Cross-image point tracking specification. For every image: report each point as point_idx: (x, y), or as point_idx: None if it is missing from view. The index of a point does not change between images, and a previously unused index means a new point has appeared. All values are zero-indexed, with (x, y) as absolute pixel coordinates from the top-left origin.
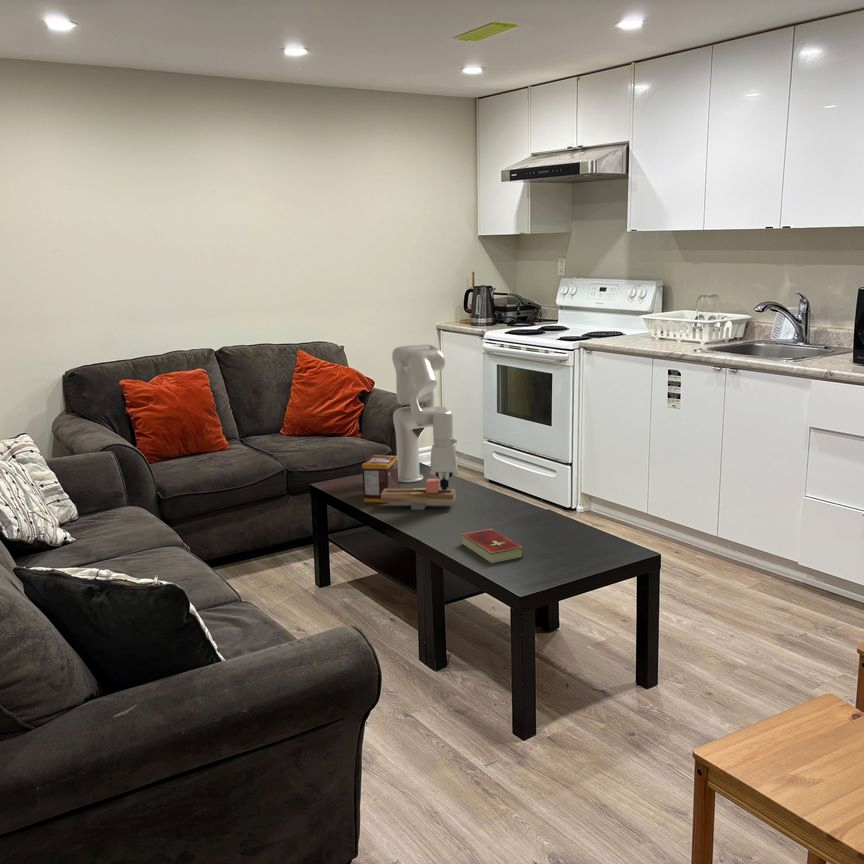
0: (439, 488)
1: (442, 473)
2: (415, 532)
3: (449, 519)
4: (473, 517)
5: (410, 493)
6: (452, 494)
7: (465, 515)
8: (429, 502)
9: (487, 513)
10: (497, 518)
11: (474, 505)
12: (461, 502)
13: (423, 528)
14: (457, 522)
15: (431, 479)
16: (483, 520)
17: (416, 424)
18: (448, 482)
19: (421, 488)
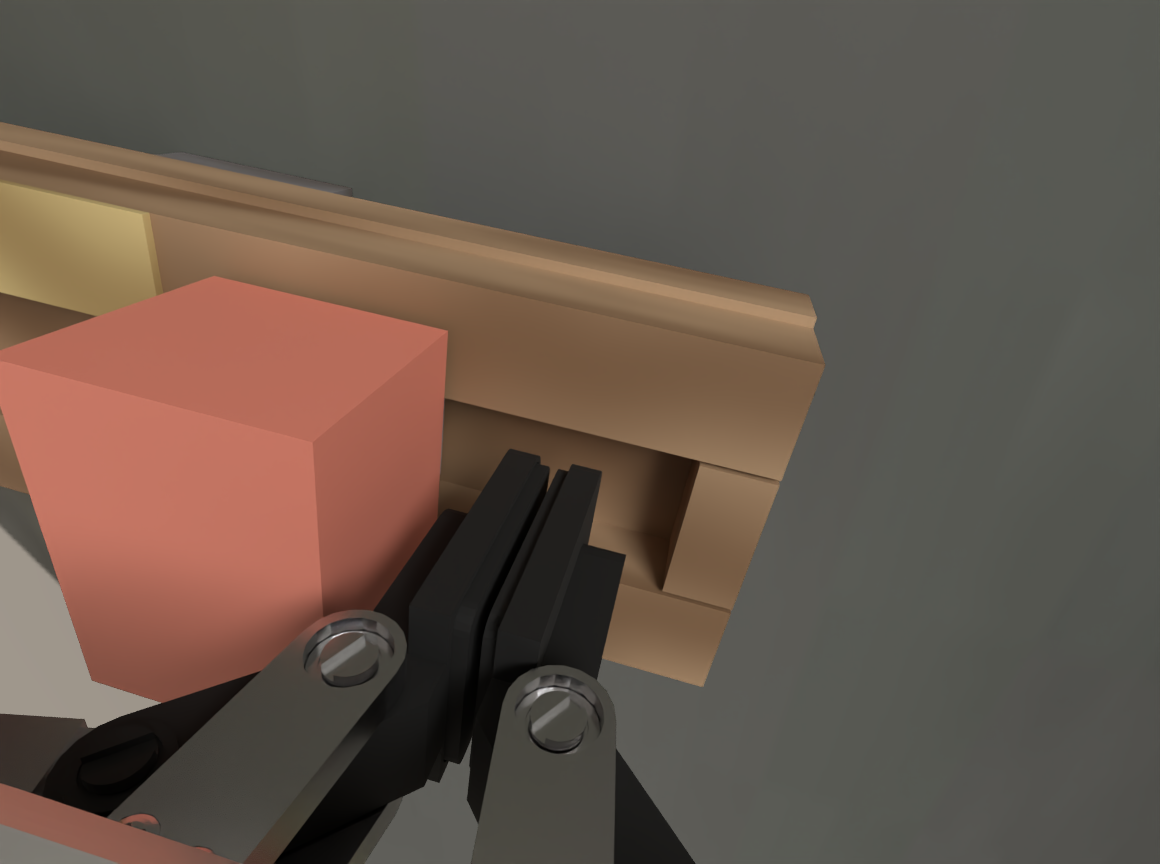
0: (444, 342)
1: (313, 797)
2: (373, 856)
3: (624, 739)
4: (878, 765)
5: (18, 464)
6: (685, 680)
7: (809, 697)
8: None
9: (1103, 715)
10: (1131, 857)
11: (1086, 384)
12: (921, 172)
13: (416, 823)
14: (687, 813)
15: (109, 455)
16: (950, 850)
17: None
18: (610, 621)
19: (76, 226)
